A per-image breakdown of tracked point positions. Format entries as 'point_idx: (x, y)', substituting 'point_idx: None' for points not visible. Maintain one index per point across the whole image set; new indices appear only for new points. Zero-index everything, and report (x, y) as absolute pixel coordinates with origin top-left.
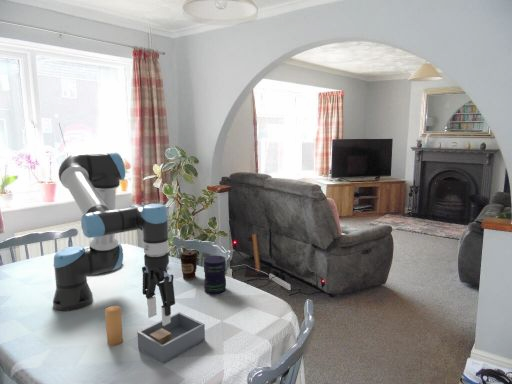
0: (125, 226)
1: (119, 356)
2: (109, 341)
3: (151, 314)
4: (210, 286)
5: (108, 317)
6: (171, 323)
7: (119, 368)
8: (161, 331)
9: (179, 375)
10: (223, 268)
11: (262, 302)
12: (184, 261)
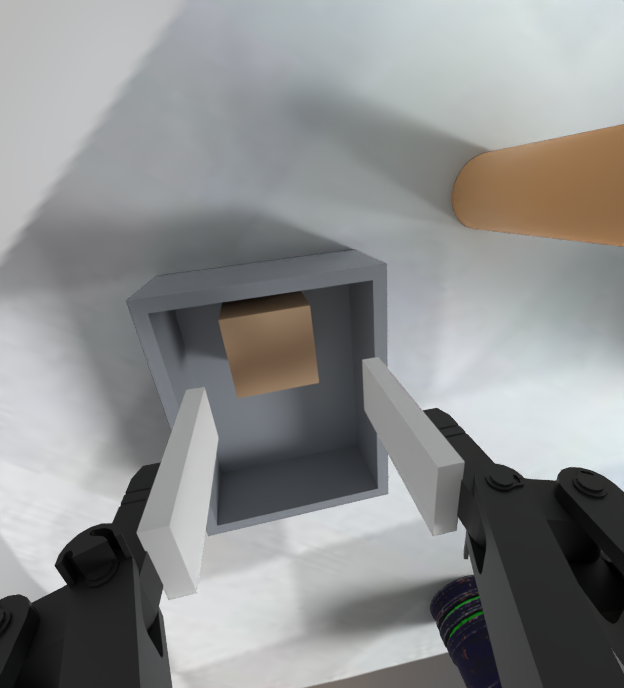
0: None
1: (361, 144)
2: (493, 152)
3: (370, 385)
4: (473, 613)
5: None
6: (366, 431)
7: (264, 86)
8: (290, 367)
9: (22, 293)
10: None
11: (293, 663)
12: None
